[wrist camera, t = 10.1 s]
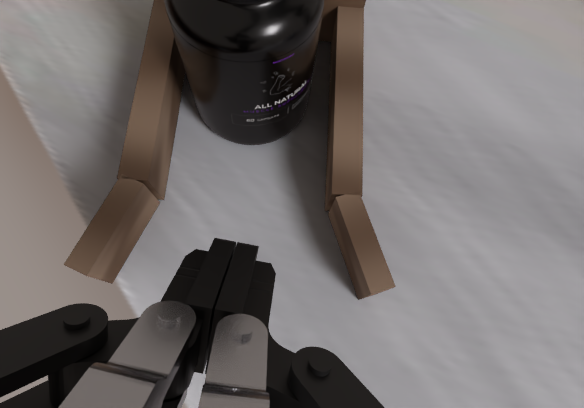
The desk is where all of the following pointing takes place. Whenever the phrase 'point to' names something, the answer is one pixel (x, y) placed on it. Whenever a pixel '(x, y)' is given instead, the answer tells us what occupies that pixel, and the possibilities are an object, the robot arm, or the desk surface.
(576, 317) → the desk surface
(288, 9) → the supplement bottle
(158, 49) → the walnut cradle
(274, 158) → the desk surface
